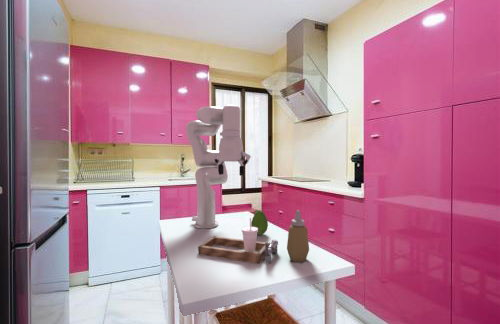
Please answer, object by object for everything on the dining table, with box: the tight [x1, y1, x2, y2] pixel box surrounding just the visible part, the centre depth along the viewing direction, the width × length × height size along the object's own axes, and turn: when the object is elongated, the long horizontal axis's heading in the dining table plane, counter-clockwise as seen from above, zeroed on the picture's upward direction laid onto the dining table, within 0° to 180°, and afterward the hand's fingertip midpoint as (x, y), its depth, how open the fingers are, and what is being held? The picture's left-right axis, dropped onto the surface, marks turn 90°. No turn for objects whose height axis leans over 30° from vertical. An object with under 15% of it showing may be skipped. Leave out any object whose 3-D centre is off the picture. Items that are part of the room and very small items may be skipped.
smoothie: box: [241, 217, 258, 253], centre depth 97 cm, size 6×6×14 cm
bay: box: [197, 236, 271, 265], centre depth 99 cm, size 25×13×3 cm, turn 70°
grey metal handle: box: [264, 239, 279, 264], centre depth 93 cm, size 2×12×8 cm, turn 160°
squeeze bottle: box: [286, 209, 310, 263], centre depth 92 cm, size 8×8×18 cm
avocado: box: [251, 209, 269, 236], centre depth 120 cm, size 8×8×12 cm
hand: (231, 174), depth 108 cm, fingers open, 9 cm apart
